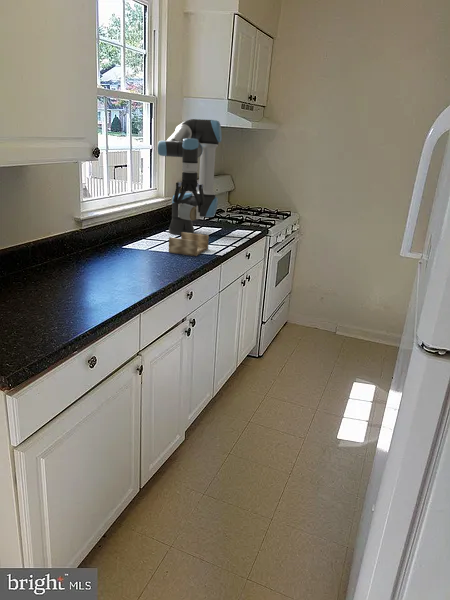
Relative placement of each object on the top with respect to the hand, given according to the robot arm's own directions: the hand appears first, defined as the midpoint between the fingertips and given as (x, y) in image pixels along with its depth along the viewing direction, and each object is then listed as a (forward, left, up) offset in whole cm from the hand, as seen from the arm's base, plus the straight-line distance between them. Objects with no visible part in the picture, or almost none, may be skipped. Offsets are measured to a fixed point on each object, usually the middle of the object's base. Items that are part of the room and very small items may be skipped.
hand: (188, 217), depth 244 cm
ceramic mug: (0, +1, -1) cm, 2 cm away
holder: (0, 0, -17) cm, 17 cm away
